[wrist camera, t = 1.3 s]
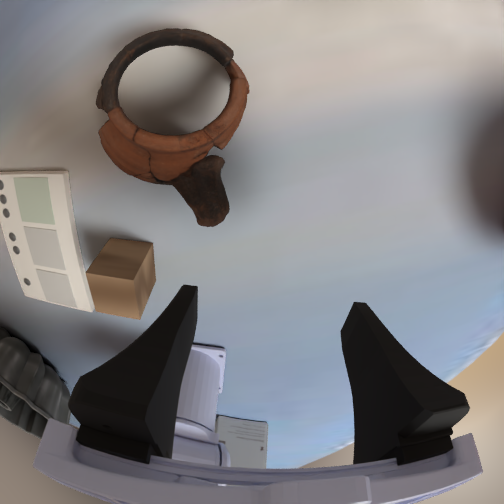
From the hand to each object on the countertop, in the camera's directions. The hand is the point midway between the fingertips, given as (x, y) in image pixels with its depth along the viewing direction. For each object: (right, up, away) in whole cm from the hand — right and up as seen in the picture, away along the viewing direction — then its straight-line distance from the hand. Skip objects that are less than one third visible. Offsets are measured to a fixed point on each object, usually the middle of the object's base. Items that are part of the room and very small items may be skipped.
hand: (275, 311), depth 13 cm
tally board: (-22, +4, +11) cm, 25 cm away
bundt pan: (-41, -16, +25) cm, 51 cm away
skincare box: (-3, -25, +29) cm, 39 cm away
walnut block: (-11, +2, +11) cm, 16 cm away
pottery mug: (-5, +12, +5) cm, 14 cm away
